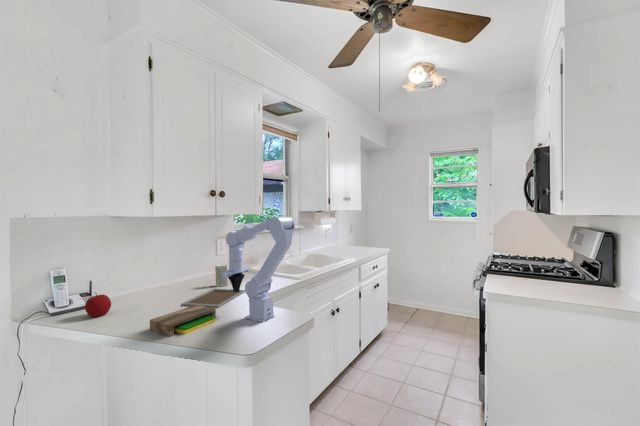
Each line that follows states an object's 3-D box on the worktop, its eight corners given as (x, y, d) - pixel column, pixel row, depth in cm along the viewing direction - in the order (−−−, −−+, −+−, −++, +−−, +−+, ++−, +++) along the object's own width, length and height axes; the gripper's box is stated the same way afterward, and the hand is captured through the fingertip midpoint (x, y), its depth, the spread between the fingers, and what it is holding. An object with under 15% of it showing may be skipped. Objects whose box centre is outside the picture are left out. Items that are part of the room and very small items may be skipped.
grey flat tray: (180, 303, 137) (216, 287, 166) (181, 307, 137) (216, 290, 166) (218, 305, 133) (247, 288, 162) (218, 309, 133) (247, 291, 162)
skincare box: (226, 284, 177) (226, 264, 177) (227, 285, 173) (227, 265, 173) (215, 285, 174) (215, 265, 174) (216, 287, 170) (216, 266, 170)
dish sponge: (172, 332, 108) (172, 325, 108) (203, 319, 120) (203, 313, 120) (184, 335, 104) (184, 329, 104) (215, 322, 116) (215, 316, 116)
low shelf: (215, 318, 120) (215, 308, 120) (169, 336, 103) (169, 325, 103) (196, 313, 126) (196, 304, 126) (149, 330, 109) (149, 319, 109)
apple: (112, 315, 125) (112, 292, 125) (85, 320, 119) (85, 296, 119) (110, 310, 132) (109, 288, 132) (84, 315, 126) (84, 291, 126)
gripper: (240, 256, 135) (241, 286, 135) (216, 261, 122) (216, 294, 122) (252, 257, 131) (253, 288, 132) (228, 263, 119) (229, 296, 119)
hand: (236, 291), depth 127 cm, fingers closed
